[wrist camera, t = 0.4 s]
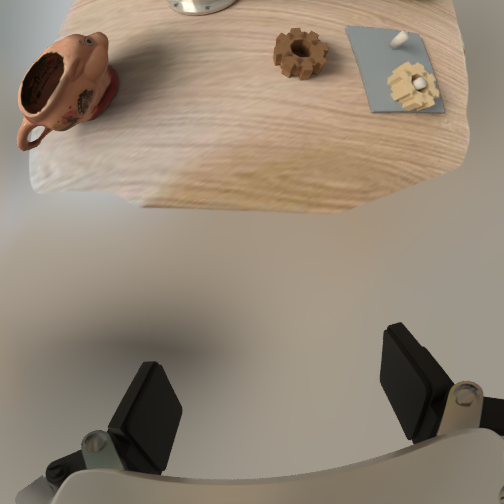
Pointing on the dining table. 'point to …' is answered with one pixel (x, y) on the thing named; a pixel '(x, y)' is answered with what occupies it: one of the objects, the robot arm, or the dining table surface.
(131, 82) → the dining table surface
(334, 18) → the dining table surface
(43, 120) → the decorative planter
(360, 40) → the gear board
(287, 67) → the walnut gear
